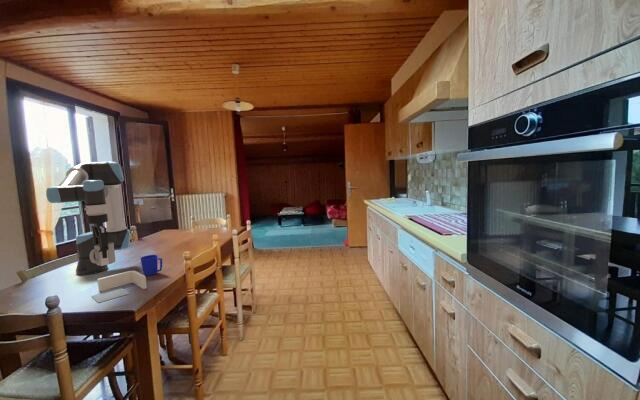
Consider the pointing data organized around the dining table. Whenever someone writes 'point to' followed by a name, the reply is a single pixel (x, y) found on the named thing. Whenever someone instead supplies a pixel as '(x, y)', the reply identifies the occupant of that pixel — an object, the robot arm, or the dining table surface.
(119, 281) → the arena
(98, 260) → the cup
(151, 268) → the mug
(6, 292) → the dining table surface
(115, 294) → the pad
